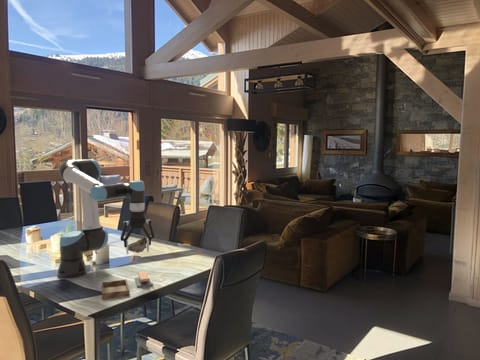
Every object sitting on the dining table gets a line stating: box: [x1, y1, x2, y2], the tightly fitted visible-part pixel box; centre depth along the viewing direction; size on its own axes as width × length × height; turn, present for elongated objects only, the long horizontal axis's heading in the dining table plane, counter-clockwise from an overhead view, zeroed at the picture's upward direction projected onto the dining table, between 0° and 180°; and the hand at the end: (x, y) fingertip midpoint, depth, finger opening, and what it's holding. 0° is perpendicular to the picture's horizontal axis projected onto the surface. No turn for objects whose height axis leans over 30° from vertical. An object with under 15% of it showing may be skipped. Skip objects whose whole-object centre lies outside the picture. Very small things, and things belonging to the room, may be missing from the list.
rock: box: [128, 236, 148, 254], centre depth 200 cm, size 11×6×10 cm
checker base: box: [134, 274, 154, 289], centre depth 201 cm, size 8×12×3 cm, turn 22°
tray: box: [100, 278, 130, 300], centre depth 189 cm, size 13×16×3 cm
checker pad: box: [137, 271, 149, 282], centre depth 201 cm, size 4×11×1 cm, turn 22°
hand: (137, 252), depth 197 cm, fingers closed on rock, 10 cm apart
